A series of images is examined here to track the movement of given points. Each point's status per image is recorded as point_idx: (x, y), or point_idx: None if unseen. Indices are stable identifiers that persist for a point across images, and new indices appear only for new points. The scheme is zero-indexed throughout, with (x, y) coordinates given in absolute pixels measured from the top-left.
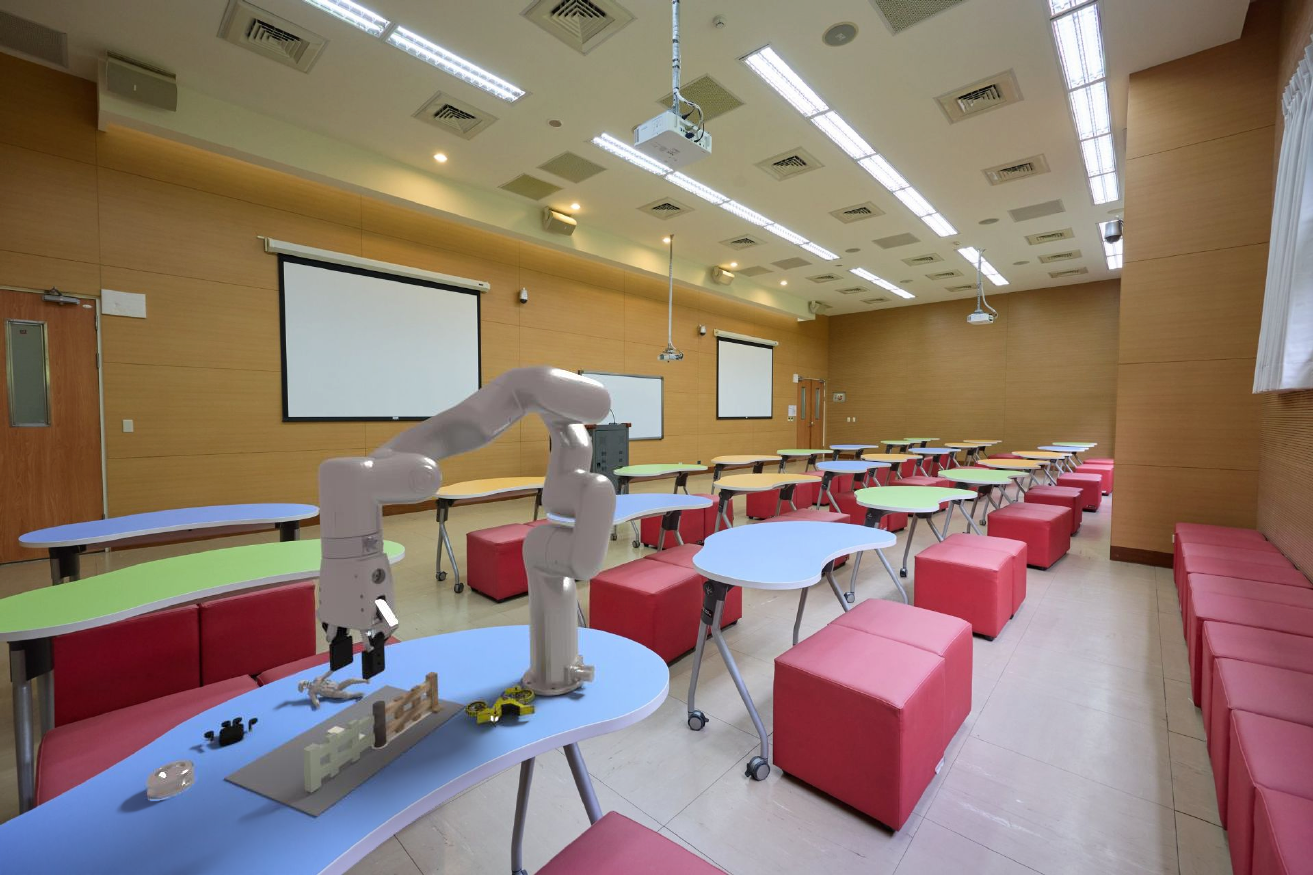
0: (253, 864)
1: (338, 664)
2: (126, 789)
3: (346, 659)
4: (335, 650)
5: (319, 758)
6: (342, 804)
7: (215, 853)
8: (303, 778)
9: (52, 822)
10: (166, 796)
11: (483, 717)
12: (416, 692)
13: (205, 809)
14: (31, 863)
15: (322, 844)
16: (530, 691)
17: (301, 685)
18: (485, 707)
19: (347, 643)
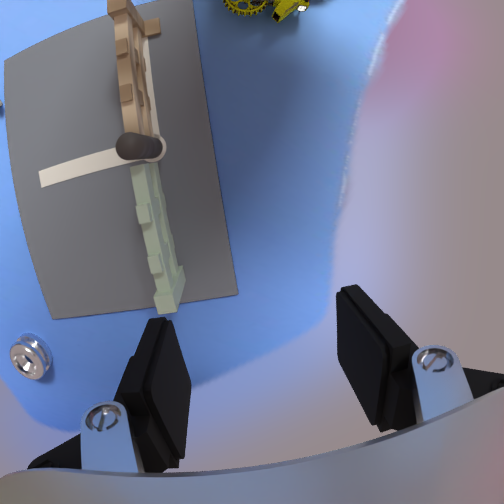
0: (251, 360)
1: (185, 383)
2: (12, 367)
3: (176, 358)
4: (184, 437)
5: (176, 285)
6: (245, 261)
7: (194, 373)
8: (134, 267)
9: (29, 406)
10: (50, 363)
11: (287, 13)
12: (130, 50)
13: (100, 352)
14: (78, 430)
15: (294, 309)
16: None
17: None
18: None
19: (165, 400)
